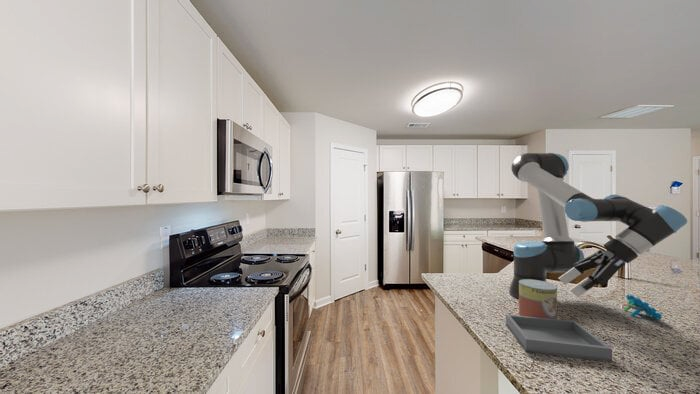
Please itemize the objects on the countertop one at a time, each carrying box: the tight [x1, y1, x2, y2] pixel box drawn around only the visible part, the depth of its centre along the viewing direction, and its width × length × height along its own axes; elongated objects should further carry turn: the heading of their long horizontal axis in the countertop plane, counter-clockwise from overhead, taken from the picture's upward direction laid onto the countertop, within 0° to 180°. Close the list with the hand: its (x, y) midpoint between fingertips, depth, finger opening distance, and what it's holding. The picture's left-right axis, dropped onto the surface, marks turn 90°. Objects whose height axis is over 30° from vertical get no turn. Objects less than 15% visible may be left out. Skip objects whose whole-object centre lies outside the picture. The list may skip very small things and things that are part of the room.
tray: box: [505, 313, 613, 363], centre depth 79 cm, size 16×20×4 cm
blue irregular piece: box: [624, 294, 663, 320], centre depth 96 cm, size 11×6×10 cm
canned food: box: [518, 279, 558, 319], centre depth 94 cm, size 11×11×12 cm
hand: (566, 287), depth 90 cm, fingers open, 13 cm apart
